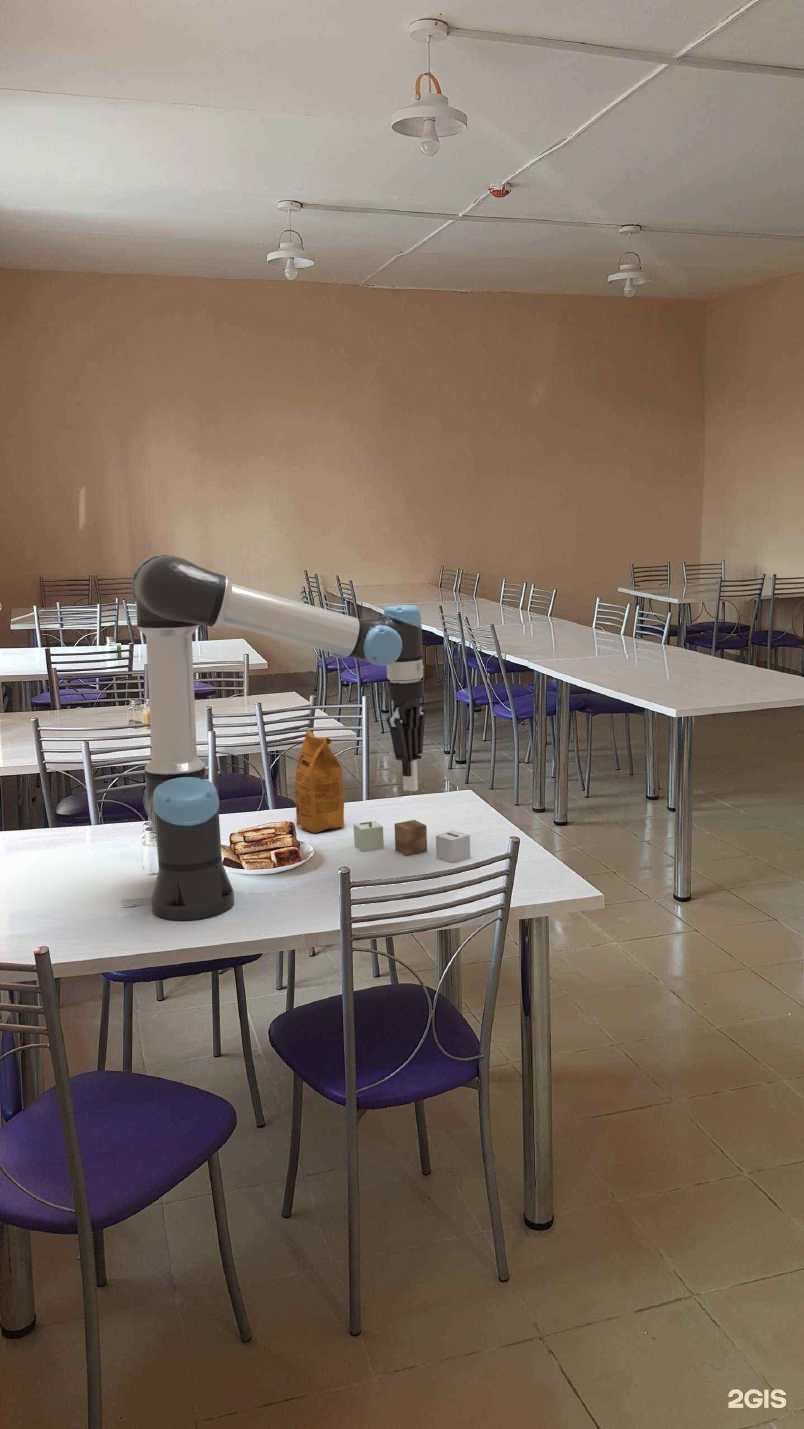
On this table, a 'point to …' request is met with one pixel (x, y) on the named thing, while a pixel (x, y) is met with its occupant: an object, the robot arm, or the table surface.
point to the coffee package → (318, 786)
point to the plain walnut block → (410, 838)
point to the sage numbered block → (368, 836)
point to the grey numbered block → (453, 846)
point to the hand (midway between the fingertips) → (410, 789)
